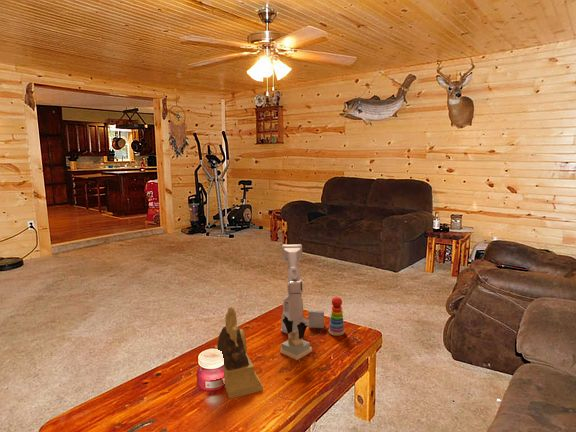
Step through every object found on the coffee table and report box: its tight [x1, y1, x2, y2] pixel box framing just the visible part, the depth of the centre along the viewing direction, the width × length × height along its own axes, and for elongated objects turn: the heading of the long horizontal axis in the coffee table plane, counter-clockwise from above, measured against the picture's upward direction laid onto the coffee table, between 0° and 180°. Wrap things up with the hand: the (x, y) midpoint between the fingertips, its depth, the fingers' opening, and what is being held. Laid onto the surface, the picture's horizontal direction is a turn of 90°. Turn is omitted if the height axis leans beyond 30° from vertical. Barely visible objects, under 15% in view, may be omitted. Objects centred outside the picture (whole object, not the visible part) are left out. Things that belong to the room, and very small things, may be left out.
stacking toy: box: [328, 296, 346, 337], centre depth 192 cm, size 8×8×19 cm
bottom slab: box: [279, 346, 313, 361], centre depth 176 cm, size 10×10×2 cm
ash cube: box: [287, 330, 304, 346], centre depth 175 cm, size 5×5×5 cm
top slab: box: [281, 339, 311, 355], centre depth 175 cm, size 9×9×2 cm
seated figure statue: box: [214, 306, 264, 399], centre depth 156 cm, size 28×13×30 cm, turn 22°
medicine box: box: [307, 308, 325, 329], centre depth 200 cm, size 8×4×9 cm, turn 84°
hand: (295, 335), depth 174 cm, fingers open, 6 cm apart
